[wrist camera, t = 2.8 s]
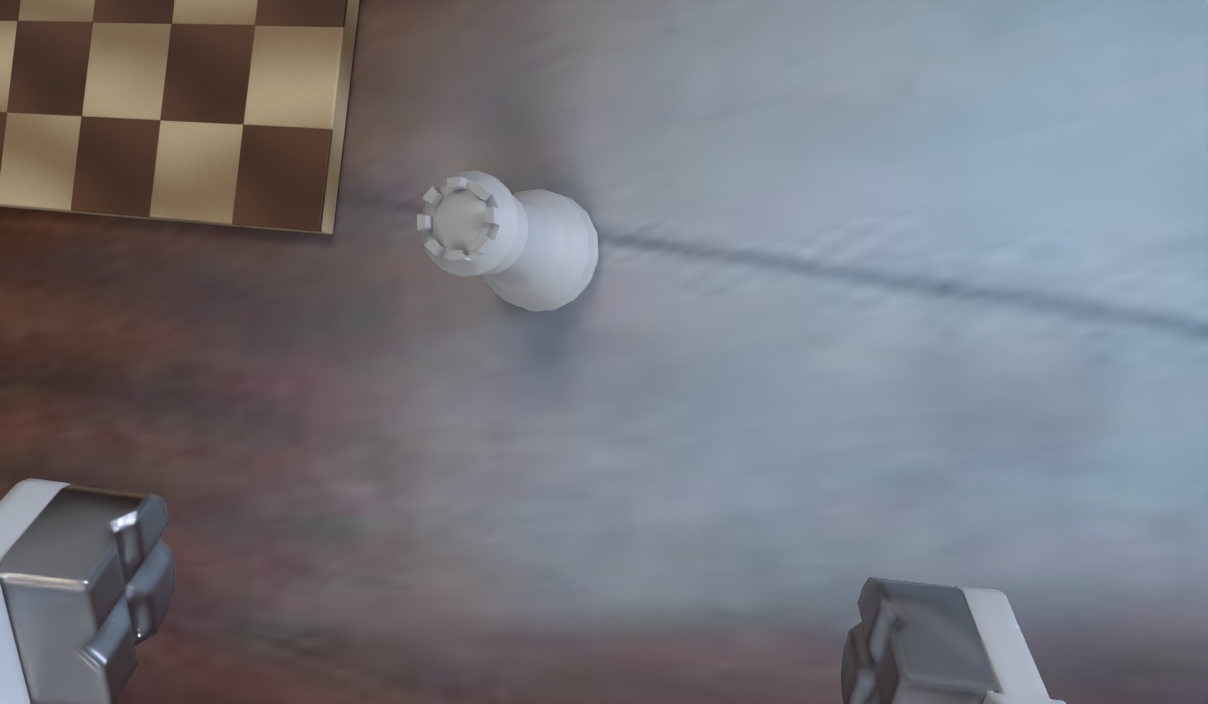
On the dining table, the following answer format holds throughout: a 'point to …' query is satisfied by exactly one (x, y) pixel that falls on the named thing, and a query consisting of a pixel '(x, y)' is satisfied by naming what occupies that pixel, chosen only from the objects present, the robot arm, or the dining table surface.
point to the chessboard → (176, 109)
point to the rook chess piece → (510, 239)
